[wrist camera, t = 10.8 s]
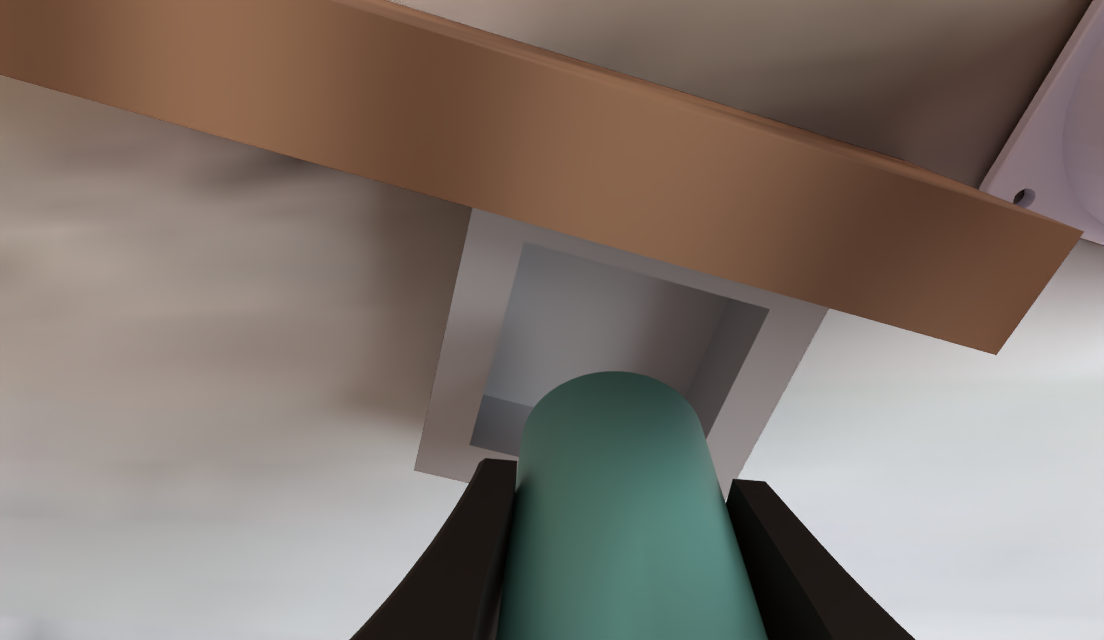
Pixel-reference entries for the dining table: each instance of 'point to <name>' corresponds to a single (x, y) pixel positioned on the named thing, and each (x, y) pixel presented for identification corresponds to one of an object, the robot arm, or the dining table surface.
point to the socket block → (600, 342)
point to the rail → (557, 149)
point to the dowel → (621, 522)
